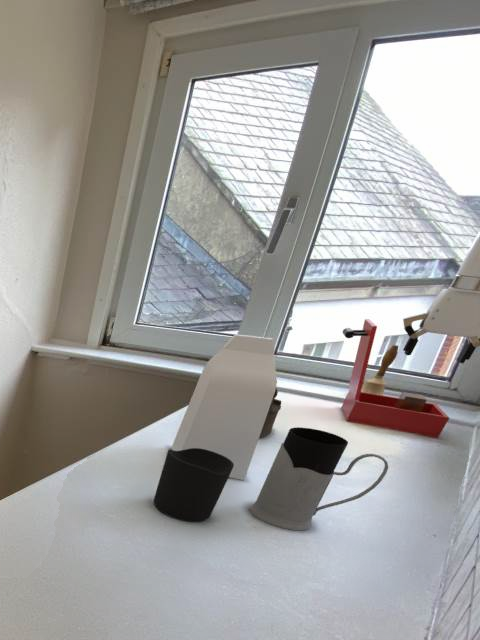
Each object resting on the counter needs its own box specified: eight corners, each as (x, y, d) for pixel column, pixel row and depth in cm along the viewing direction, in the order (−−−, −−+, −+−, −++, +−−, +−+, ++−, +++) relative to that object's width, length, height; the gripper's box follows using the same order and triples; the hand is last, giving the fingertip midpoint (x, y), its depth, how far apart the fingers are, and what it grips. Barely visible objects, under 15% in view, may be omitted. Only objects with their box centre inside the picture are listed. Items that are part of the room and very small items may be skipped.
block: (408, 420, 143) (422, 395, 140) (412, 426, 139) (427, 399, 136) (388, 417, 145) (401, 391, 142) (391, 422, 141) (405, 396, 138)
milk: (175, 466, 111) (221, 337, 99) (171, 447, 120) (213, 327, 109) (244, 480, 107) (300, 347, 95) (234, 459, 116) (285, 335, 104)
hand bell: (386, 399, 163) (414, 346, 156) (385, 405, 157) (414, 350, 150) (350, 392, 168) (376, 340, 161) (348, 398, 162) (374, 344, 155)
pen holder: (213, 530, 89) (236, 475, 84) (149, 513, 93) (167, 460, 88) (210, 506, 96) (231, 454, 92) (151, 492, 100) (168, 441, 96)
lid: (369, 319, 143) (343, 319, 146) (377, 326, 133) (349, 326, 136) (352, 388, 150) (327, 387, 153) (358, 400, 140) (332, 399, 143)
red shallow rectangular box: (425, 423, 144) (436, 404, 142) (437, 438, 134) (449, 417, 132) (340, 408, 153) (349, 389, 150) (346, 421, 143) (355, 401, 140)
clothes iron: (225, 436, 128) (246, 380, 122) (234, 419, 140) (254, 368, 133) (265, 445, 124) (290, 388, 118) (272, 427, 135) (294, 374, 129)
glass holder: (247, 499, 99) (281, 422, 92) (345, 522, 93) (389, 441, 86) (251, 520, 92) (288, 438, 86) (358, 546, 86) (407, 460, 80)
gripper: (521, 288, 125) (477, 362, 133) (420, 279, 134) (384, 349, 142) (533, 291, 120) (486, 368, 127) (427, 281, 128) (389, 354, 136)
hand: (433, 358), depth 134 cm, fingers open, 9 cm apart
